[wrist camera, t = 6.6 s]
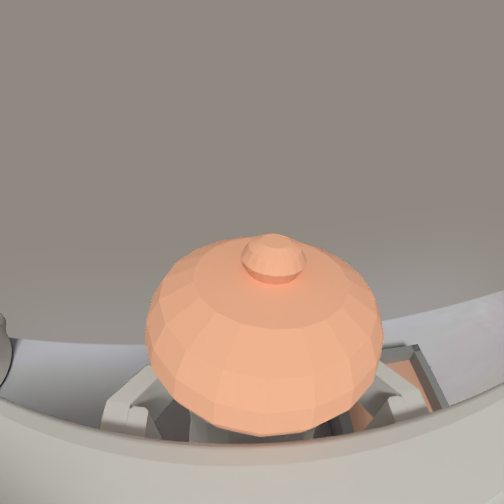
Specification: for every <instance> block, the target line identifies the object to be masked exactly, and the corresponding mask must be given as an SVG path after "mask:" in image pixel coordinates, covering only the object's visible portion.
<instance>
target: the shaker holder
mask: <svg viewBox="0 0 504 504" xmlns="http://www.w3.org/2000/svg"><path fill="white" fill-rule="evenodd" d="M380 361H381V362H382V363H384V364H385V365H386V366H388V367H389V368H390V369H392V370H393V371H395V372H396V373H397V374H399V375H400V376H401V377H403V378H404V379H405V380H407V381H408V382H410V383H411V384H412V385H414V386H415V387H416V388H418V389H419V390H420V392H421V394H422V397H423V399H424V401H425V403H426V406H427V408H428V410H429V413H431V412H434V411H437V410H440V409H442V408H445V407H448V406H449V405H448V403H447V401H446V399H445V397H444V394H443V392H442V390H441V388H440V386H439V384H438V382H437V380H436V378H435V376H434V374H433V372H432V370H431V369H430V367H429V365H428V363H427V361H426V359H425V357H424V355H423V353H422V352H421V350H420V348H419V346H418V344H416V345H410V346H403V347H396V348H389V349H382V353H381V357H380ZM372 419H373V417H372V416H371V415H370V414H369V413H368V412H367V411H366V410H365V409H364V408H363V407H362V406H361V405H360V404H359V403H358V402H356V403H355V404H354V405H353V406H352V407H351V408H350V409H349V410H347V411H346V412H344V413H342V414H340V415H338V416H336V417H334V418H332V419H330V423H331V428H332V432H333V436H337V435H343V434H349V433H354V432H359V431H364V430H365V428H366V427H367V425H368V424H369V423H370V422H371V420H372Z"/></svg>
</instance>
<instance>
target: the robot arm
mask: <svg viewBox="0 0 504 504" xmlns="http://www.w3.org/2000/svg"><path fill="white" fill-rule="evenodd" d="M5 328H6V320H5V318H4V317H3V315H2V314H0V385H1V383H2V382H3V380H4V378H5V376H6V374H7V372H8V369H9V366H10V362H11V356H12V347H11V342H10V339H9V337H8V336H7V334H6V331H5ZM172 400H173V397H172V396H171V395H170V393H169V392H168V391H167V389H166V388H165V387H164V385H163V384H162V383H161V381H160V380H159V378H158V377H157V376H156V374H155V373H154V371H153V370H152V369H151V364H150V366H149V365H146V366H145V367H144V368H143V369H142V370H141V371H140V372H138V373H137V374H136V375H135V376H134V377H133V378H132V379H131V380H129V381H128V382H127V383H126V384H125V385H124V386H123V387H121V388H120V389H119V390H118V391H117V392H116V393H115V394H114V395H112V396H111V397H110V398H109V399H108V400H107V401H106V405H105V408H104V412H103V416H102V420H101V423H100V427H99V429H97V428H93V427H89V426H84V425H81V424H77V423H73V422H70V421H66V420H63V419H59V418H56V417H53V416H50V415H47V414H44V413H41V412H38V411H35V410H32V409H30V408H27V407H24V406H22V405H19V404H17V403H14V402H12V401H9V400H7V399H5V398H2V397H0V504H504V382H503V383H501V384H499V385H497V386H495V387H493V388H491V389H489V390H487V391H484V392H482V393H480V394H478V395H475V396H473V397H471V398H468V399H466V400H463V401H461V402H458V403H456V404H453V405H451V406H448V407H445V408H442V409H440V410H437V411H434V412H431V413H429V410H428V408H427V406H426V403H425V401H424V399H423V397H422V394H421V392H420V390H419V389H418V388H416V387H415V386H414V385H412V384H411V383H410V382H408V381H407V380H405V379H404V378H403V377H401V376H400V375H399V374H397V373H396V372H395V371H393V370H392V369H390V368H389V367H388V366H386V365H385V364H384V363H382V362H381V361H379V364H378V368H377V371H376V374H375V377H374V381H373V383H372V384H371V385H370V387H369V388H368V389H367V390H366V391H365V393H364V394H363V395H362V396H361V397H360V398H359V399H358V401H357V402H358V403H359V404H360V405H361V406H362V407H363V408H364V409H365V410H366V411H367V412H368V413H369V414H370V415H371V416H372V417H373V419H372V420H371V422H370V423H369V424H368V425H367V427H366V428H365V430H364V431H359V432H354V433H349V434H343V435H337V436H331V437H324V438H316V439H308V440H299V441H288V442H274V443H252V444H217V443H194V442H181V441H170V440H162V437H161V435H160V433H159V431H158V429H157V427H156V425H155V423H154V422H155V421H156V420H157V419H158V417H159V416H160V415H161V414H162V412H163V411H164V410H165V409H166V408H167V406H168V405H169V404H170V403H171V401H172Z"/></svg>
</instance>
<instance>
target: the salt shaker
mask: <svg viewBox="0 0 504 504" xmlns="http://www.w3.org/2000/svg"><path fill="white" fill-rule="evenodd" d="M383 339H384V334H383V328H382V323H381V317H380V312H379V309H378V306H377V303H376V300H375V298H374V295H373V293H372V291H371V290H370V288H369V287H368V285H367V284H366V282H365V281H364V279H363V278H362V276H361V275H360V274H359V273H358V272H356V271H355V270H354V269H353V268H352V267H351V266H349V265H348V264H347V263H346V262H345V261H344V260H342V259H340V258H338V257H336V256H334V255H332V254H330V253H328V252H327V251H325V250H323V249H320V248H317V247H314V246H311V245H308V244H305V243H302V242H298V241H296V240H294V239H292V238H290V237H287V236H284V235H279V234H263V235H259V236H256V237H242V238H235V239H228V240H222V241H218V242H215V243H212V244H209V245H206V246H204V247H201V248H198V249H196V250H194V251H193V252H191V253H190V254H188V255H187V256H185V257H184V258H182V259H181V260H179V261H178V262H177V263H176V264H175V265H174V266H173V268H172V269H171V270H170V271H169V273H168V274H167V275H166V277H165V278H164V279H163V281H162V282H161V284H160V285H159V287H158V289H157V290H156V291H155V293H154V295H153V297H152V301H151V305H150V309H149V313H148V317H147V322H146V333H145V341H146V346H147V351H148V355H149V360H150V364H151V369H152V370H153V371H154V373H155V374H156V376H157V377H158V378H159V380H160V381H161V383H162V384H163V385H164V387H165V388H166V389H167V391H168V392H169V393H170V395H171V396H172V397H173V399H175V400H176V401H177V402H178V403H179V404H181V405H182V406H183V407H185V408H186V409H188V410H189V412H190V416H191V422H190V432H189V442H194V443H217V444H252V443H274V442H288V441H299V440H308V439H313V435H314V431H315V429H316V428H317V426H318V425H320V424H322V423H324V422H326V421H328V420H330V419H332V418H334V417H336V416H338V415H340V414H342V413H344V412H346V411H347V410H349V409H350V408H351V407H352V406H353V405H354V404H355V403H356V402H357V401H358V399H359V398H360V397H361V396H362V395H363V394H364V393H365V391H366V390H367V389H368V388H369V387H370V385H371V384H372V383H373V381H374V377H375V374H376V371H377V368H378V364H379V361H380V357H381V353H382V346H383Z"/></svg>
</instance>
